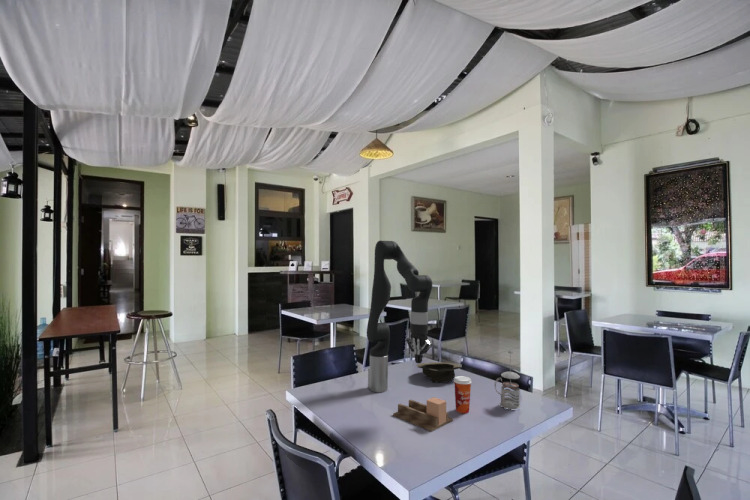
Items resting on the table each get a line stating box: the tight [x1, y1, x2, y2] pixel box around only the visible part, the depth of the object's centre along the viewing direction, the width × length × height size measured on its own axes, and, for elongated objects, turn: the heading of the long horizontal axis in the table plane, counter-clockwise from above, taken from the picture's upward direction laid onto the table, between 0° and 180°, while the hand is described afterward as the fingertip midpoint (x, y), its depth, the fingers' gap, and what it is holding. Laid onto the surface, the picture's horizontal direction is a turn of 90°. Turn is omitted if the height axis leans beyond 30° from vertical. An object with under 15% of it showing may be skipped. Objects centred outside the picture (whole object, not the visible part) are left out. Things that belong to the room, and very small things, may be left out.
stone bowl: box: [416, 361, 463, 384], centre depth 209 cm, size 25×25×9 cm
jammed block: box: [426, 397, 447, 425], centre depth 150 cm, size 6×5×8 cm
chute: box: [392, 399, 454, 432], centre depth 155 cm, size 20×14×4 cm
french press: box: [494, 349, 521, 409], centre depth 169 cm, size 10×12×25 cm
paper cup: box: [453, 375, 472, 414], centre depth 163 cm, size 8×8×14 cm
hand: (418, 362), depth 159 cm, fingers closed
